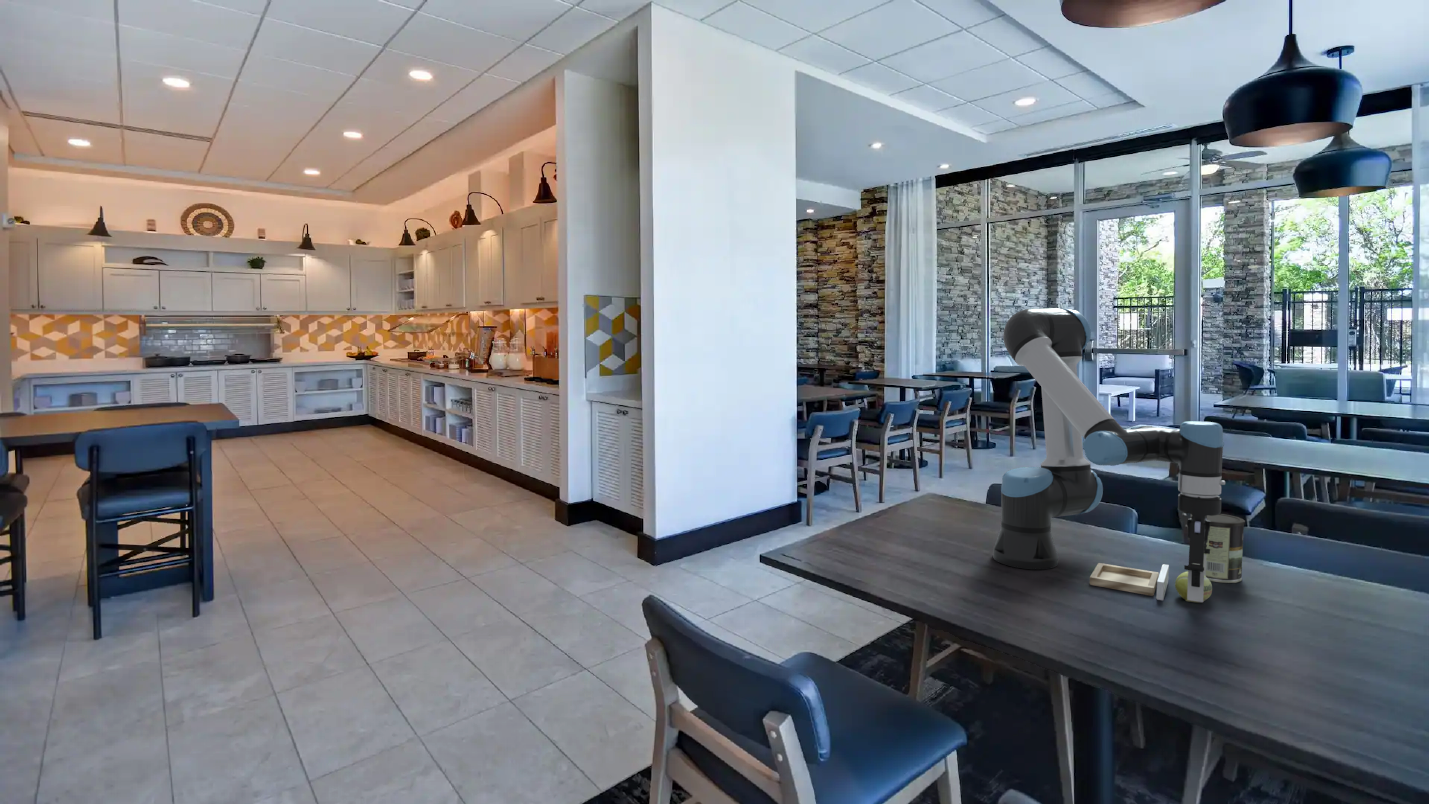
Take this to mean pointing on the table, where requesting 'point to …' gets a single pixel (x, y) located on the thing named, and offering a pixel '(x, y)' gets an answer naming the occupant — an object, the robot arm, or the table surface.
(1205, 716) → the table surface
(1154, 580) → the tray
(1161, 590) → the panel
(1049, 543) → the robot arm
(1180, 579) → the tennis ball
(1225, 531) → the coffee can
